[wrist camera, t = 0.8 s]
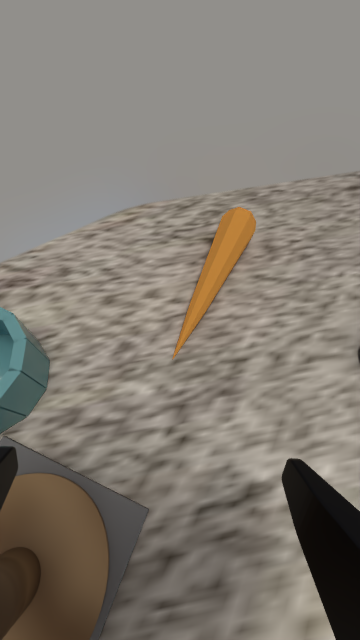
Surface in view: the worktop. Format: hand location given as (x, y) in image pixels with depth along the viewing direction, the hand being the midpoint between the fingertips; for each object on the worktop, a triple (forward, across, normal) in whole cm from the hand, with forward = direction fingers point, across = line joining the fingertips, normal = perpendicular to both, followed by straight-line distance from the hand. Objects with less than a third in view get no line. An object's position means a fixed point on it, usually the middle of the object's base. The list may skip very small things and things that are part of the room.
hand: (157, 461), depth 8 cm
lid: (+3, +8, +14) cm, 16 cm away
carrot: (+22, -5, -2) cm, 23 cm away
